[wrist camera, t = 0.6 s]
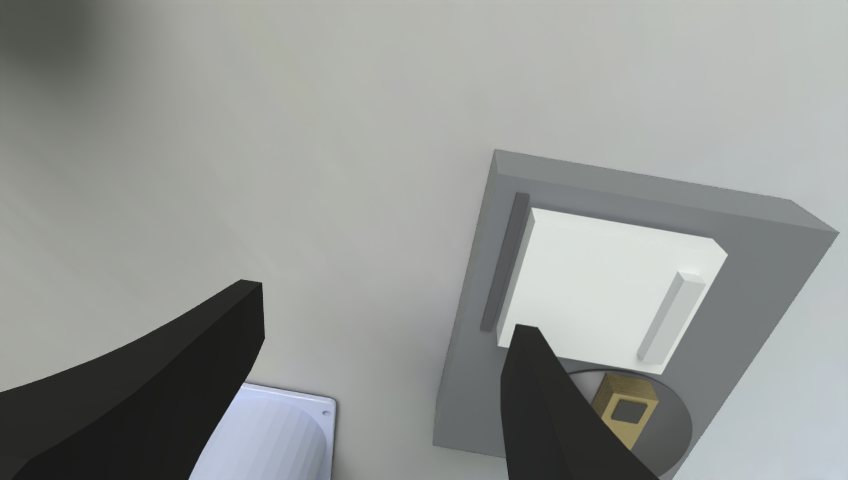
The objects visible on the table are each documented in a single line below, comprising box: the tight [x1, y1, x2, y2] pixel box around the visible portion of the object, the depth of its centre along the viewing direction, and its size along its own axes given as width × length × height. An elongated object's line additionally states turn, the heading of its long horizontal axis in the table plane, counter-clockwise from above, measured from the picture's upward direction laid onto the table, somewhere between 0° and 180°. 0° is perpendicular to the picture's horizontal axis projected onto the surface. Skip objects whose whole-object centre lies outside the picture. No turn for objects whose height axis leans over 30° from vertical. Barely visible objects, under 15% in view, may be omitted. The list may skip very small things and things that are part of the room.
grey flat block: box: [433, 149, 840, 480], centre depth 23 cm, size 18×13×3 cm
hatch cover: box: [496, 207, 728, 375], centre depth 18 cm, size 6×7×2 cm
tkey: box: [591, 373, 659, 450], centre depth 23 cm, size 9×2×2 cm, turn 172°
